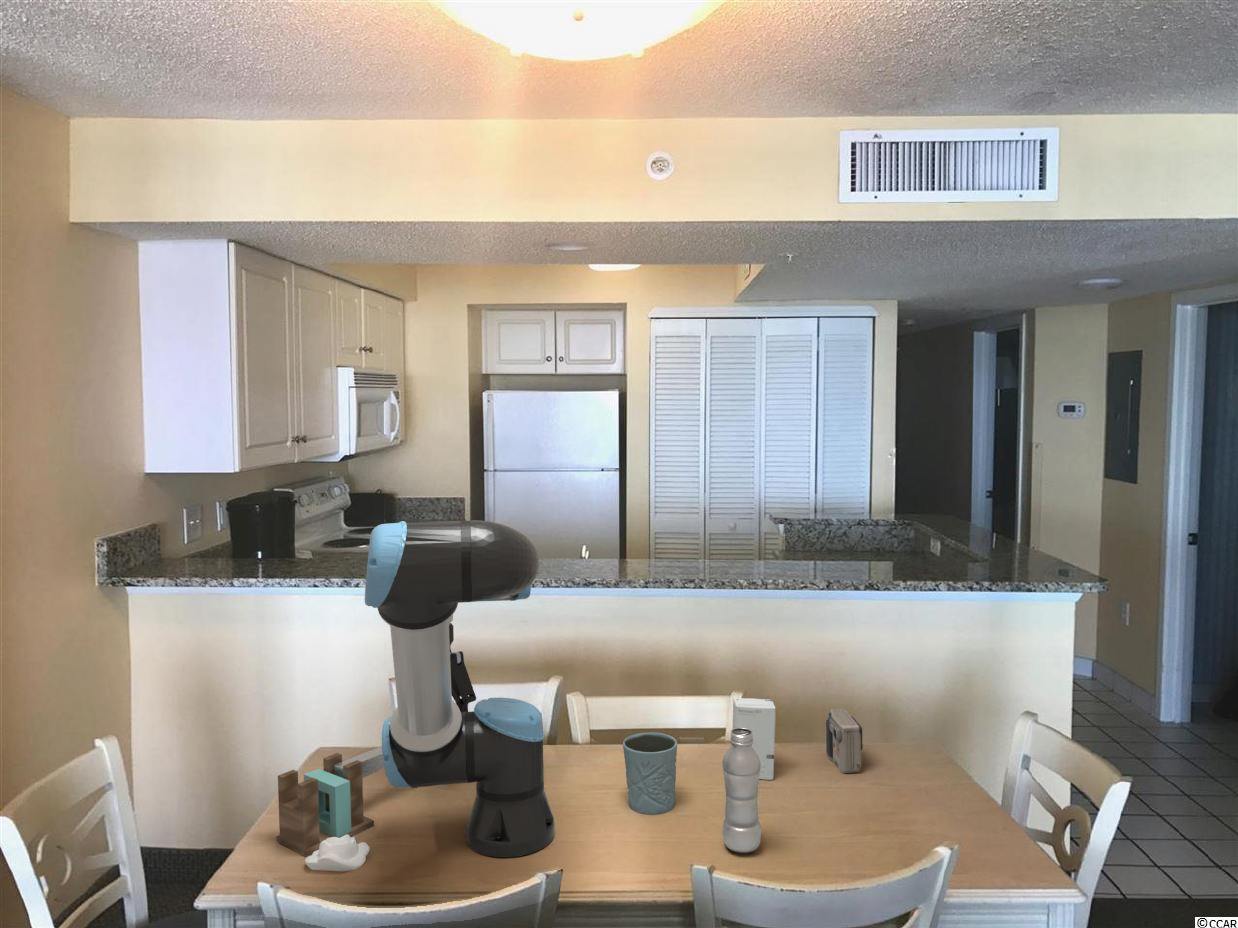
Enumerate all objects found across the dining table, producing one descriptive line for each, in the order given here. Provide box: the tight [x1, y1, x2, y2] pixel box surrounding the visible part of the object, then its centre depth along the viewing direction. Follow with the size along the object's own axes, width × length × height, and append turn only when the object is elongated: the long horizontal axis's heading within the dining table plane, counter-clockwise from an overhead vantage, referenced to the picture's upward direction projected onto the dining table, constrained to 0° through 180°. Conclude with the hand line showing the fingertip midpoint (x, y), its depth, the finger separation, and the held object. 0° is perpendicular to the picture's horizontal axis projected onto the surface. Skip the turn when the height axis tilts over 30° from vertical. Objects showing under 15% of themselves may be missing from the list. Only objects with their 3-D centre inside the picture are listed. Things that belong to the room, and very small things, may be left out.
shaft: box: [334, 745, 385, 779], centre depth 164 cm, size 25×5×5 cm, turn 144°
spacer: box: [303, 768, 351, 838], centre depth 152 cm, size 3×9×9 cm, turn 54°
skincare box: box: [732, 697, 776, 781], centre depth 175 cm, size 8×6×15 cm
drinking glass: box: [622, 731, 678, 816], centre depth 162 cm, size 10×10×12 cm
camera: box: [825, 708, 864, 774], centre depth 180 cm, size 11×6×10 cm, turn 0°
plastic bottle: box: [721, 728, 762, 854], centre depth 145 cm, size 6×7×20 cm
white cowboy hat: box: [304, 834, 370, 872], centre depth 143 cm, size 10×4×10 cm
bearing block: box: [275, 752, 375, 858], centre depth 152 cm, size 14×9×12 cm, turn 144°
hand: (436, 730), depth 172 cm, fingers open, 13 cm apart
